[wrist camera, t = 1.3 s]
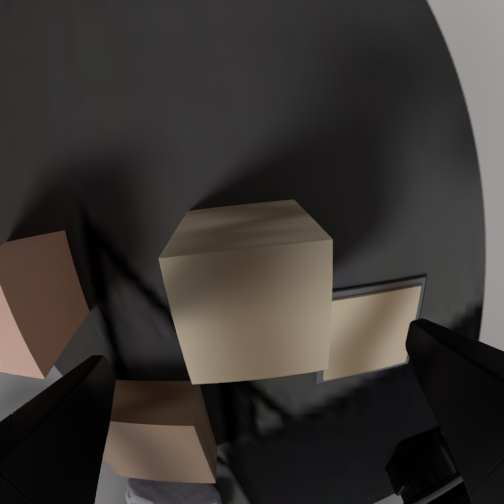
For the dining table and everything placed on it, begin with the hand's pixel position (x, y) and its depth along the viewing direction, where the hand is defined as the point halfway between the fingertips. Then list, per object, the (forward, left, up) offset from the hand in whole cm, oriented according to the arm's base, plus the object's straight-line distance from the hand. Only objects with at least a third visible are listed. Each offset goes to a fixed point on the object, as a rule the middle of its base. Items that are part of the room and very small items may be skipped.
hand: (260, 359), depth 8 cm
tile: (-7, +6, -8) cm, 12 cm away
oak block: (0, 0, -8) cm, 8 cm away
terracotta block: (+12, 0, -8) cm, 14 cm away
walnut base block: (+8, +12, -8) cm, 16 cm away
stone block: (+11, +28, -8) cm, 31 cm away
